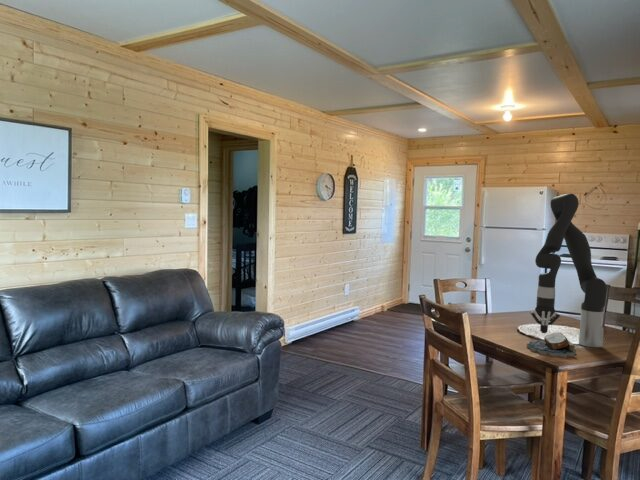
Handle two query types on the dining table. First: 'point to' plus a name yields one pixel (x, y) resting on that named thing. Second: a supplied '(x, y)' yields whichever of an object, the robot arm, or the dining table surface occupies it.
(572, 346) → the walnut stop strip
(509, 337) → the dining table surface
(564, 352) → the decorative tile
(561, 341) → the tin
